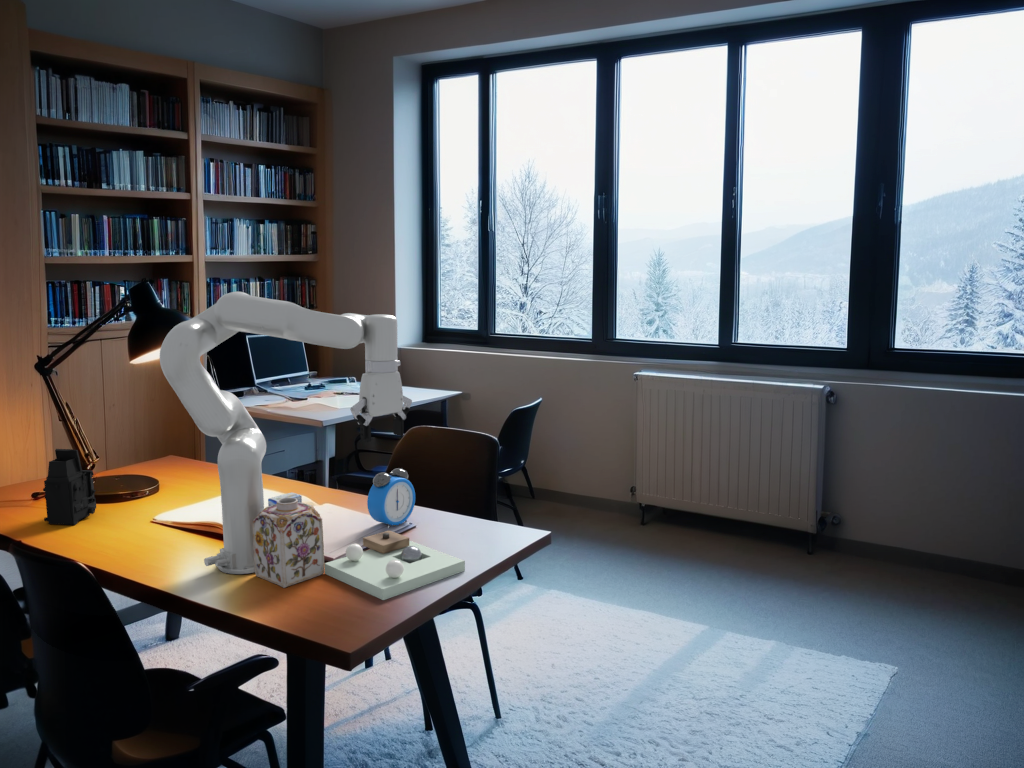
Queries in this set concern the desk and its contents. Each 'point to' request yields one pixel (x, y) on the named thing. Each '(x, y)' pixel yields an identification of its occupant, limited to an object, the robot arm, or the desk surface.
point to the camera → (68, 489)
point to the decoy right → (394, 568)
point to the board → (376, 582)
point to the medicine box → (289, 495)
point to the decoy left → (354, 552)
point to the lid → (386, 541)
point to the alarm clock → (391, 497)
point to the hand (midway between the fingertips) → (382, 438)
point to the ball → (411, 554)
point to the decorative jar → (288, 543)
